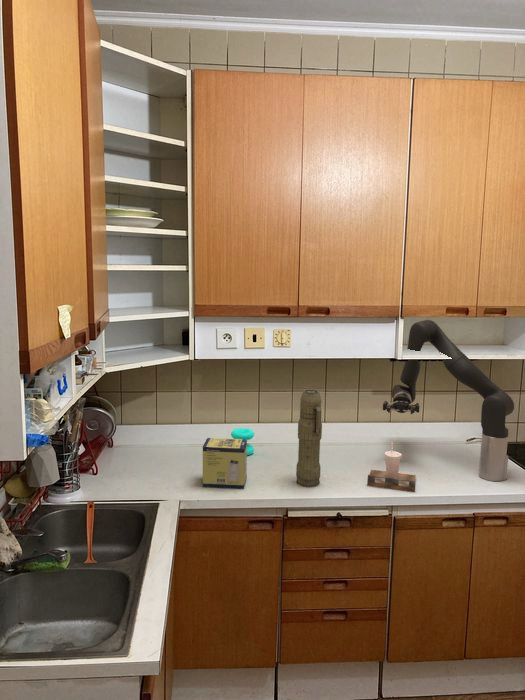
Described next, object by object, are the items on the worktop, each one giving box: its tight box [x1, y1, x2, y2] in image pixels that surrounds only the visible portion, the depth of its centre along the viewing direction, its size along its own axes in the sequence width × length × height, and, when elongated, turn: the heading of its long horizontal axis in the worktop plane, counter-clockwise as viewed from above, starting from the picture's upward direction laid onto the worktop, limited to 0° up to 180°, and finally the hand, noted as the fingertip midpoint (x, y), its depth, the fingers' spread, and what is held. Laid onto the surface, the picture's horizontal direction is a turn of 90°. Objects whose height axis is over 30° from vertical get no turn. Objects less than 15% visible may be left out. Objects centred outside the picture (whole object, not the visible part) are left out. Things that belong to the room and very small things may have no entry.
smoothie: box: [383, 442, 403, 478], centre depth 202 cm, size 6×6×14 cm
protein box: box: [202, 437, 248, 490], centre depth 198 cm, size 10×16×16 cm
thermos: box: [295, 389, 323, 488], centre depth 198 cm, size 9×12×35 cm
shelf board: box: [366, 469, 417, 493], centre depth 202 cm, size 17×13×4 cm
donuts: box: [230, 427, 255, 457], centre depth 230 cm, size 10×10×10 cm
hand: (400, 410), depth 210 cm, fingers open, 8 cm apart
